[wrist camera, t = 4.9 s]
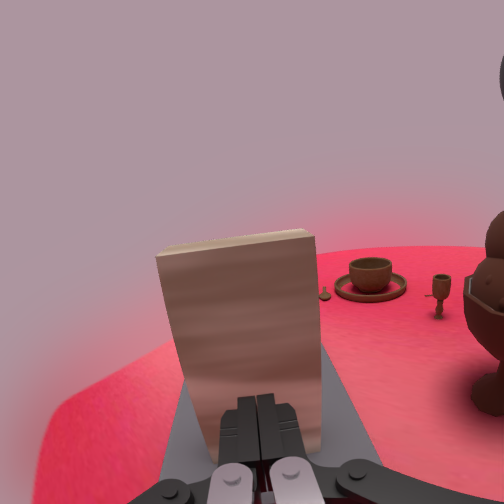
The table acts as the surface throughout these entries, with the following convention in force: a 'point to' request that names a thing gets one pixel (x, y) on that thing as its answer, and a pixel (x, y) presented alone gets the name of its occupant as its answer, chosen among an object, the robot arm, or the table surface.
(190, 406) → the mat
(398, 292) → the place setting
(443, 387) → the table surface
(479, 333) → the ice cream bowl
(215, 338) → the tile
